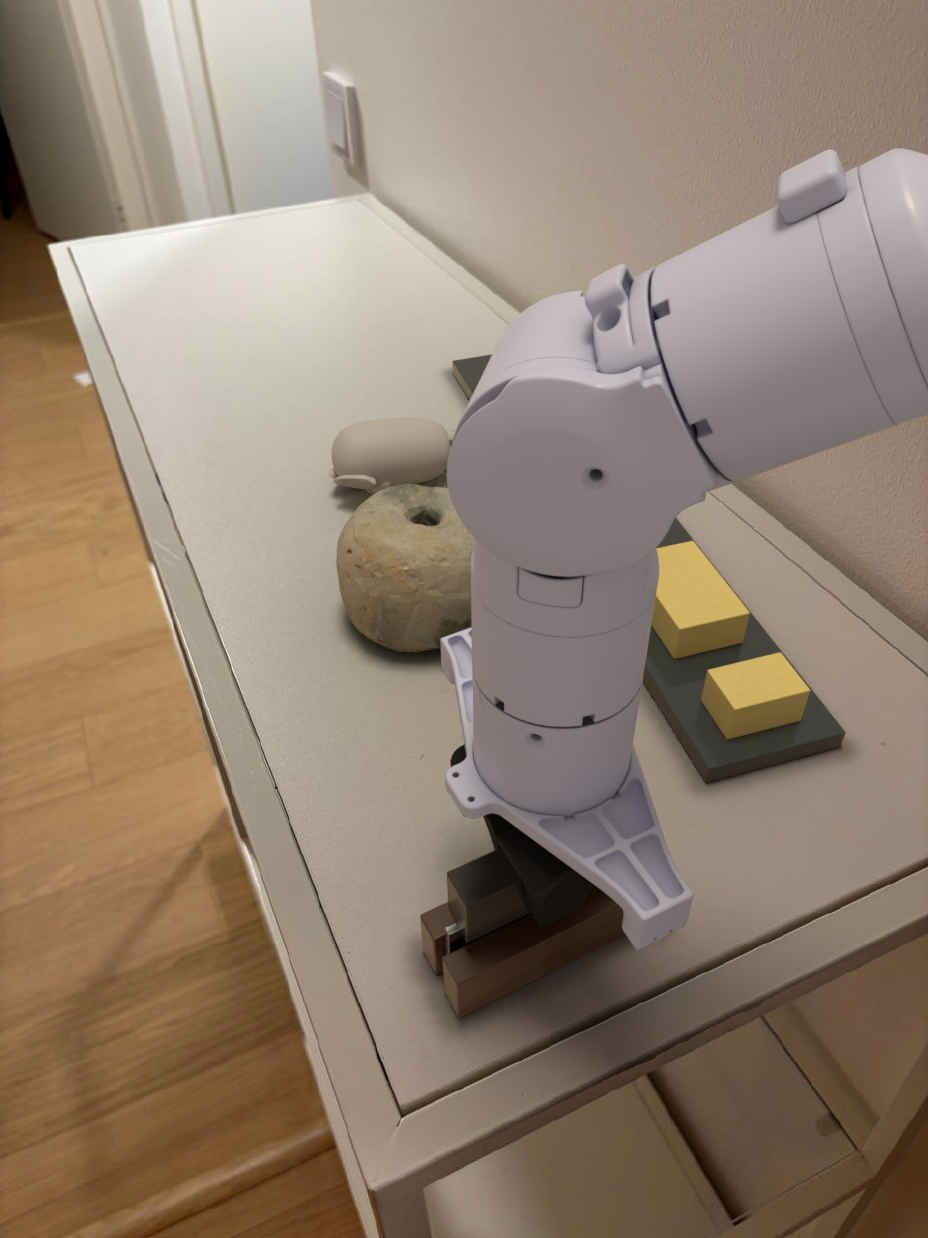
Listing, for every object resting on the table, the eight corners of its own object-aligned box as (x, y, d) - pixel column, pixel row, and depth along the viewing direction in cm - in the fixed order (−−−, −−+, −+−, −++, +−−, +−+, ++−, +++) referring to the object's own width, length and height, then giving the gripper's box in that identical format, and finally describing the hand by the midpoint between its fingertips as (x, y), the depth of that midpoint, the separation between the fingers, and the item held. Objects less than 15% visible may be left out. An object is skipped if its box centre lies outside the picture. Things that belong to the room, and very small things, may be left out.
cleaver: (631, 910, 45) (648, 822, 41) (457, 996, 42) (454, 912, 38) (609, 880, 46) (623, 792, 42) (439, 961, 43) (434, 876, 39)
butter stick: (743, 643, 56) (750, 612, 55) (673, 659, 55) (679, 629, 54) (687, 570, 61) (693, 539, 60) (623, 584, 60) (627, 553, 59)
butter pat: (801, 721, 52) (811, 690, 50) (726, 740, 51) (734, 709, 49) (771, 682, 54) (780, 651, 52) (700, 700, 53) (706, 669, 51)
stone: (503, 646, 53) (376, 511, 50) (392, 702, 60) (276, 586, 57) (564, 541, 59) (455, 418, 57) (458, 603, 66) (357, 495, 64)
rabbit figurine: (347, 484, 65) (508, 467, 69) (332, 411, 65) (492, 399, 70) (325, 511, 70) (475, 494, 75) (311, 444, 71) (461, 431, 76)
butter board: (841, 747, 52) (846, 732, 51) (705, 783, 50) (709, 768, 50) (540, 358, 85) (541, 346, 84) (452, 373, 83) (452, 360, 82)
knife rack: (652, 920, 45) (660, 884, 43) (458, 1019, 41) (457, 985, 39) (609, 861, 47) (614, 824, 45) (422, 949, 44) (419, 914, 42)
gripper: (362, 577, 36) (387, 802, 45) (569, 881, 26) (547, 1088, 36) (528, 523, 38) (520, 747, 47) (773, 784, 29) (703, 1002, 38)
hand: (541, 889), depth 42 cm, fingers closed on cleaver, 2 cm apart
